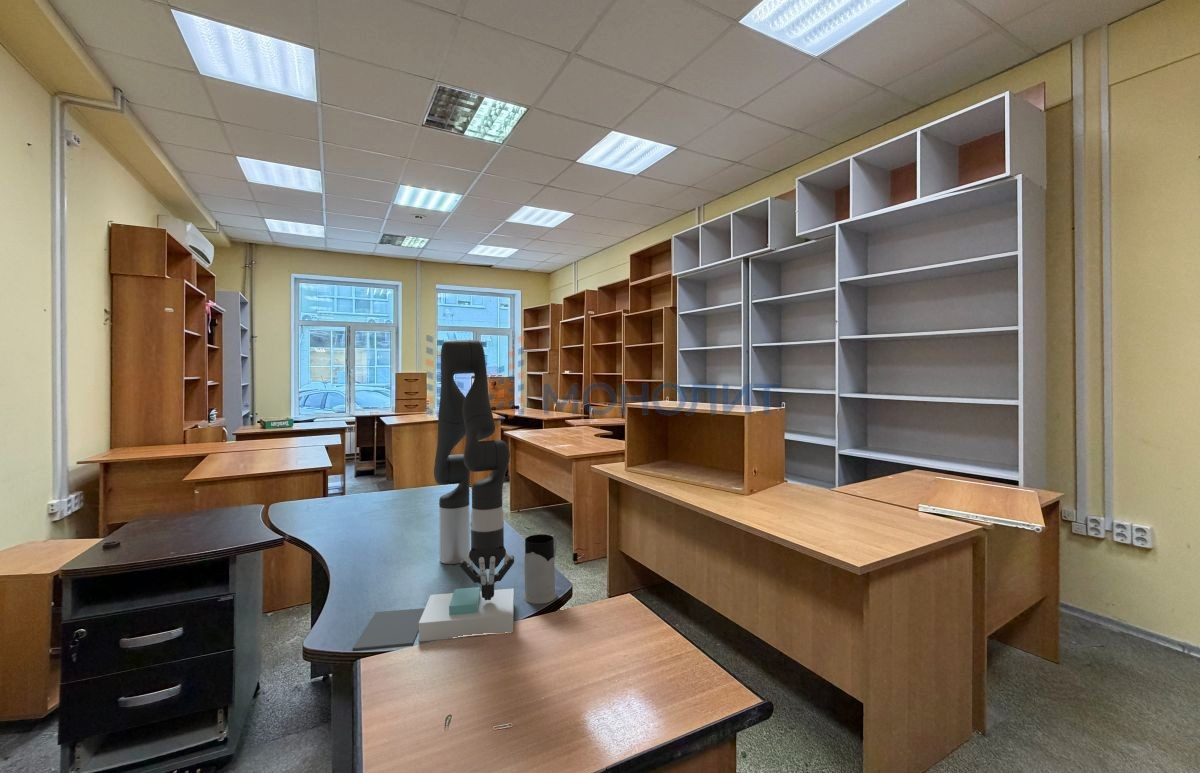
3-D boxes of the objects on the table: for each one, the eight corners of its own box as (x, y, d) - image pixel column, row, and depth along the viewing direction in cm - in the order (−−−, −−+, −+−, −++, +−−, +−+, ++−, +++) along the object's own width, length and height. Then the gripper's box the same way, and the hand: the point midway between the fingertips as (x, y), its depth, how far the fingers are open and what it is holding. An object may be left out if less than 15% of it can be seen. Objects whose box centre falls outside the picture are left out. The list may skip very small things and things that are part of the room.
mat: (375, 613, 115) (375, 612, 115) (427, 609, 117) (427, 607, 117) (352, 650, 99) (352, 648, 99) (412, 644, 101) (412, 642, 101)
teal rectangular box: (454, 597, 114) (454, 589, 114) (480, 595, 115) (480, 587, 115) (449, 615, 105) (449, 606, 105) (476, 612, 106) (476, 603, 106)
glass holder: (516, 600, 121) (516, 542, 121) (542, 579, 134) (541, 526, 134) (547, 605, 118) (547, 546, 118) (570, 583, 131) (569, 529, 131)
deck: (430, 611, 116) (430, 594, 116) (513, 604, 119) (513, 588, 119) (418, 641, 102) (418, 623, 102) (512, 632, 105) (512, 615, 105)
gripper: (516, 519, 116) (516, 589, 116) (460, 522, 114) (460, 594, 114) (515, 528, 109) (516, 603, 109) (456, 531, 106) (456, 608, 106)
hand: (487, 598), depth 111 cm, fingers closed
